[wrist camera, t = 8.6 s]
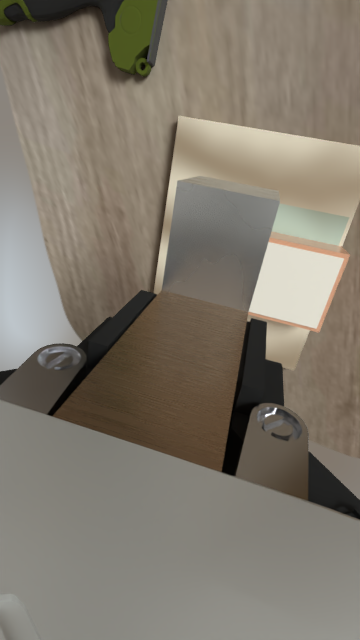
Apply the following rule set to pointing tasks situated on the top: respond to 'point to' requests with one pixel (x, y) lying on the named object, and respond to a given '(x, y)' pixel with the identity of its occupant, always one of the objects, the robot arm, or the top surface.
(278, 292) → the tile
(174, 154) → the board
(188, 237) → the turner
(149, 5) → the gun
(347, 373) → the top surface
